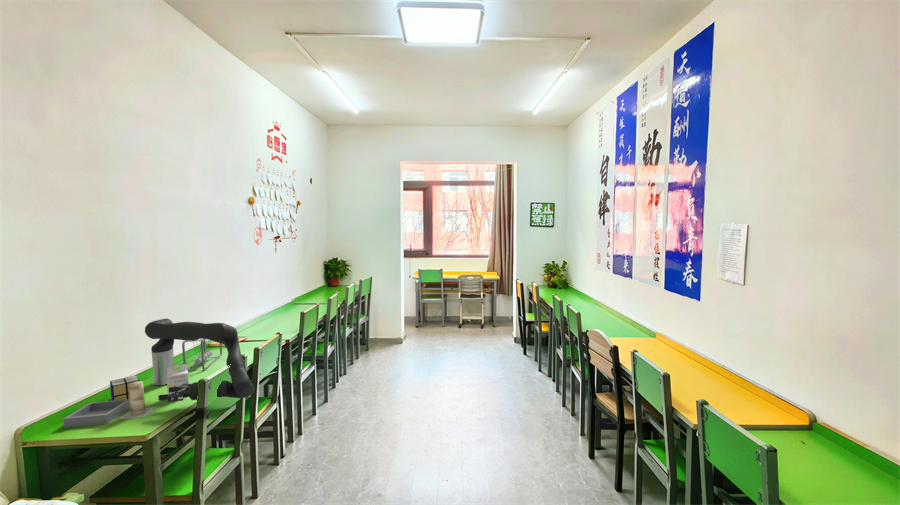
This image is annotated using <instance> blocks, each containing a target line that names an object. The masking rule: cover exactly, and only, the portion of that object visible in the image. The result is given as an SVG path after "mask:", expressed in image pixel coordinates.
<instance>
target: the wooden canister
mask: <svg viewBox="0 0 900 505" xmlns="http://www.w3.org/2000/svg"><path fill="white" fill-rule="evenodd" d="M144 390H145V388H144V382H143V381H142V380H141V381H140V382H134V383H131V384H129V396H130V408H129V410H130V411H131V415H132V416H135V415H140V414H143V413H145V408H146V402H145V401H146V400H145V391H144Z"/></svg>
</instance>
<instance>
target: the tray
mask: <svg viewBox="0 0 900 505" xmlns="http://www.w3.org/2000/svg"><path fill="white" fill-rule="evenodd" d="M128 410H130V399H125V400H113V401H111V400H105V401H93V402H91V401H90V402H89V403H87V404H85V405H84V406H83V407H80V408H79V409H77V410H76V411H74V412H72V413H70V414H69V415H67V416H66V417H64V418H63V419H62V420H63V428H64V429H70V428H73V427H74V428H75V427H82V426H95V425H105V424H106V425H107V424H109V423H110V422H112V421H113V420H115V419H117V418H118V417H119V416H121V415H122V414H123V413H125V412H127V411H128Z"/></svg>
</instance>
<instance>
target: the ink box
mask: <svg viewBox="0 0 900 505" xmlns="http://www.w3.org/2000/svg"><path fill="white" fill-rule="evenodd" d="M174 368H175V370H174ZM187 369H188V364H187V363H186V364H184V365H183V364H178V365H174V366H172V367H167V385H166V386H167V387H166V389H167V394H171V393H169V388H170V387H179V386H182V385H183V384H190V383H189V371H188V370H187ZM172 393H174V392H172ZM177 395H178V393H177ZM171 398H173V397H171Z"/></svg>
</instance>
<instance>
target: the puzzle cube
mask: <svg viewBox="0 0 900 505" xmlns="http://www.w3.org/2000/svg"><path fill="white" fill-rule="evenodd" d="M134 382H140V378H138V375H131V376H127V377H126V376H125V377H124V378H123V377H121V378H117V379H113V380H109V385H110V387H109V388H110V398H111V399H110V401H113V400H125V399H130V396H129V384H131V383H134Z"/></svg>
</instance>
